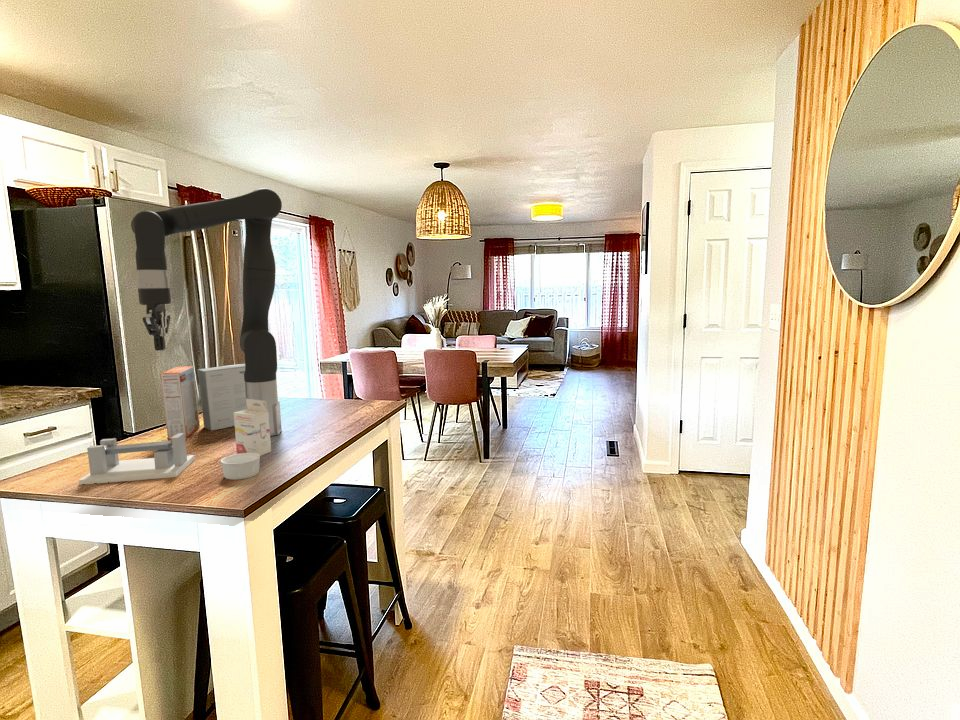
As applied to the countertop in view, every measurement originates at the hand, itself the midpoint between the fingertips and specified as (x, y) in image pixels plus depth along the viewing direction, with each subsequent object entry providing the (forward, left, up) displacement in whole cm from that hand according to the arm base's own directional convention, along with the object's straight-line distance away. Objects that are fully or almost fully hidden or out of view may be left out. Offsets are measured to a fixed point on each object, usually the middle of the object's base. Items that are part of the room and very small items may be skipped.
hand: (160, 350), depth 145 cm
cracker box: (+3, -20, -29) cm, 36 cm away
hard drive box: (-9, -28, -29) cm, 42 cm away
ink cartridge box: (-24, +8, -29) cm, 39 cm away
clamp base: (+1, +17, -29) cm, 34 cm away
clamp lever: (+2, +17, -24) cm, 29 cm away
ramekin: (-25, +26, -29) cm, 47 cm away
